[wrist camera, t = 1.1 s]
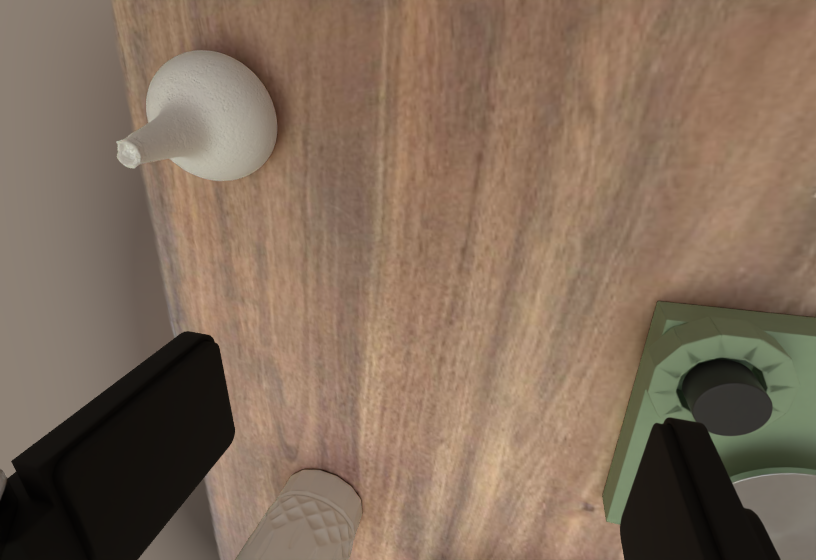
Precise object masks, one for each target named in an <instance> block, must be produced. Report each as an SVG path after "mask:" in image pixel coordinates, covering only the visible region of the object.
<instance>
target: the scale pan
mask: <svg viewBox="0 0 816 560" xmlns="http://www.w3.org/2000/svg"><path fill="white" fill-rule="evenodd" d="M730 479H731V481H732V484H733V486H734V488H735V490H736V492H737V494H738V496H739V499H740V501H741V503H742V505H743V507H744V508H747V509H751V510H752V511H754V512H755V513H756V514H757V515H758V517H759V518H760V520H761V521H762V523H763V525H764V527H765V529H766V531H767V533H768V535H769V537H770V539H771V541H772V543H773V545H774V547H775V549H776V551H777V553H778V555H779V557H780V559H781V560H816V470H813V469H806V468H793V467H777V468H765V469H758V470H753V471H748V472H744V473H741V474H737V475H734V476H732V477H730Z"/></svg>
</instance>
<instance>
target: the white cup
mask: <svg viewBox="0 0 816 560" xmlns="http://www.w3.org/2000/svg"><path fill="white" fill-rule="evenodd" d="M362 513H363V512H362V504H361V499H360V498H359V496H358V495H357V493H356V492H355V491H354V489H353V488H352V487H351V486H350V485H349V484H347V483H346V482H345V481H343V480H342V479H340V478H339V477H338V476H336V475H333V474H330V473H327V472H324V471H321V470H302V471H300V472H298V473H295V474H293V475H291V477H290V478H289V480H288V481H287V483H286V484H285V486H284V488H283V489H282V491H281V492H280V494H279V496H278V497H277V499H276V500H275V502H274V503H273V504H272V505H271V506H270V507H269V509H268V510H267V512H266V513H265V515H264V516H263V518H262V519H261V521H260V522H259V524H258V525H257V527H256V528H255V530H254V531H253V533H252V534H251V535H250V537H249V538H248V540H247V541H246V543H245V545H244V546H243V548H242V549H241V551H240V553H239V554H238V556H237V557H236V559H235V560H349V558H350V555H351V551H352V546H353V540H354V538H355V535H356V532H357V529H358V526H359V523H360V520H361V517H362Z"/></svg>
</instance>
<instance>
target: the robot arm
mask: <svg viewBox="0 0 816 560" xmlns="http://www.w3.org/2000/svg"><path fill="white" fill-rule="evenodd" d="M234 435H235V427H234V422H233V416H232V411H231V406H230V401H229V396H228V390H227V385H226V380H225V375H224V369H223V364H222V359H221V354H220V349H219V346H218V344H217V343H215V342H214V339H213V338H212V337H211V336H210V335H206V334H200V333H195V332H189V331H187V332H183V333H181V334H180V335H178V336H177V337H176V338H174V339H173V340H172V341H170V342H169V343H168V344H166V345H165V346H164V347H162V348H161V349H160V350H158V351H157V352H156V353H154V354H153V355H152V356H150V357H149V358H148V359H146V360H145V361H144V362H142V363H141V364H140V365H138V366H137V367H136V368H135V369H133V370H132V371H130V372H129V373H128V374H126V375H125V376H124V377H122V378H121V379H120V380H118V381H117V382H116V383H114V384H113V385H112V386H110V387H109V388H108V389H106V390H105V391H104V392H103V393H101V394H100V395H98V396H97V397H96V398H94V399H93V400H92V401H91V402H89V403H88V404H87V405H85V406H84V407H83V408H81V409H80V410H79V411H77V412H76V413H75V414H73V415H72V416H71V417H69V418H68V419H67V420H66V421H64V422H63V423H61V424H60V425H59V426H57V427H56V428H55V429H53V430H52V431H51V432H49V433H48V434H47V435H45V436H44V437H43V438H41V439H40V440H39V441H38V442H36V443H35V444H33V445H32V446H31V447H29V448H28V449H27V450H25V451H24V452H23V453H21V454H20V455H19V456H18V457H16V458H15V459H14V460H12V461H11V462H12V464H13V466H14V468H15V470H16V472H15V473H14V474H13V475H11V476H10V477H9V478H8V479H7V477H6V475H5V473H4V472H3V471H2V470H0V560H137V559H138V558H139V557H140V556H141V555H142V553H143V552H144V551H145V550H146V549H147V547H148V546H149V545H150V544H151V542H152V541H153V540H154V539H155V537H156V536H157V535H158V534H159V532H160V531H161V530H162V529H163V528H164V526H165V525H166V524H167V522H168V521H169V520H170V519H171V518H172V516H173V515H174V514H175V513H176V511H177V510H178V509H179V508H180V507H181V505H182V504H183V503H184V502H185V500H186V499H187V498H188V497H189V495H190V494H191V493H192V492H193V490H194V489H195V488H196V487H197V485H198V484H199V483H200V482H201V481H202V479H203V478H204V477H205V476H206V474H207V473H208V472H209V471H210V469H211V468H212V467H213V466H214V465H215V463H216V462H217V461H218V460H219V458H220V457H221V456H222V455H223V453H224V452H225V451H226V450H227V448H228V447H229V446H230V444H231V443H232V441H233V438H234ZM620 536H621V543H622V548H623V554H624V560H781V559H780V557H779V555H778V553H777V551H776V549H775V547H774V545H773V543H772V541H771V539H770V537H769V535H768V533H767V531H766V529H765V527H764V525H763V523H762V521H761V520H760V518H759V517H758V515H757V514H756V513H755V512H754V511H752V510H751V509H747V508H744V507H743V505H742V503H741V501H740V499H739V496H738V494H737V492H736V490H735V488H734V486H733V484H732V481H731V479H730V477H729V475H728V473H727V471H726V469H725V466H724V464H723V462H722V460H721V458H720V456H719V453H718V451H717V449H716V447H715V445H714V443H713V441H712V438H711V436H710V434H709V432H708V430H707V428H706V427H705V425H704V424H702V423H699V422H694V421H688V420H682V419H677V418H671V417H668V418H666V419H665V420H664V423H663V424H660V423H655V424H654V425H653V427H652V429H651V432H650V435H649V438H648V441H647V444H646V447H645V450H644V453H643V455H642V458H641V461H640V464H639V467H638V470H637V473H636V476H635V479H634V482H633V485H632V488H631V491H630V494H629V497H628V499H627V502H626V505H625V508H624V511H623V514H622V517H621V523H620Z"/></svg>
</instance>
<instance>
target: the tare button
mask: <svg viewBox="0 0 816 560" xmlns="http://www.w3.org/2000/svg"><path fill="white" fill-rule="evenodd" d="M682 391H683V394H684V396H685V399H686V401H687V403H688V406H689V408H690V410H691V413H692V415H693V417H694V419H695V421H696V422H699V423H702V424H704V425H705V427H706V428H707V430H708V432H711V433H713V434H716V435H721V436H740V435H745V434H748V433H751V432H754V431H756V430H758V429H759V428H761V427H762V426H763V425H764V424H766V423H767V421H768V420H769V419H770V417H771V414H772V410H773V405H772V401H771V399H770V397H769V396H768V394H767V393H766V391H765V390H764V388H763V387H762V385H761V384H760V382H759V381H758V380H757V378H756V377H755V375H754V374H753V372H752V371H751V370H750V369H749V368H748V367H746V366H745V365H743V364H741V363H738V362H736V361H732V360H723V359H722V360H711V361H707V362H704V363H701V364H699V365H697V366H696V367H694V368H693V369H691V370H690V371H689V372H688V373H687V375H686V376H685V378H684V380H683V384H682Z"/></svg>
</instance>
